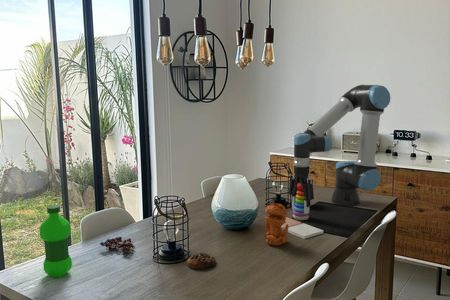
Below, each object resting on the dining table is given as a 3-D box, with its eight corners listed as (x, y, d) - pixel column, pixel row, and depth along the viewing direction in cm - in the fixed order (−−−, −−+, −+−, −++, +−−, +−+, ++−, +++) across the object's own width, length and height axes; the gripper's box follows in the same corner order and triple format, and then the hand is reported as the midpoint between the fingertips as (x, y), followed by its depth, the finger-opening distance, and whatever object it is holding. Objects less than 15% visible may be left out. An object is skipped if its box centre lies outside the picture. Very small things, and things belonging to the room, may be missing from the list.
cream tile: (303, 225, 203) (303, 223, 203) (323, 233, 193) (323, 230, 193) (285, 231, 196) (285, 228, 196) (304, 238, 186) (304, 236, 186)
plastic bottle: (79, 269, 159) (74, 203, 155) (62, 282, 148) (57, 212, 144) (55, 266, 161) (49, 201, 157) (36, 279, 151) (30, 210, 147)
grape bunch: (94, 251, 172) (95, 240, 172) (112, 241, 186) (113, 231, 185) (127, 260, 168) (129, 249, 168) (143, 249, 182) (145, 238, 182)
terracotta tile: (283, 218, 214) (283, 216, 214) (301, 224, 204) (301, 222, 204) (265, 223, 207) (265, 220, 207) (282, 230, 197) (282, 227, 197)
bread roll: (206, 272, 155) (204, 258, 155) (181, 270, 160) (179, 257, 160) (222, 262, 164) (220, 249, 164) (197, 260, 170) (196, 248, 170)
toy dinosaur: (256, 243, 182) (257, 201, 179) (272, 236, 190) (272, 196, 187) (278, 250, 174) (279, 207, 172) (293, 242, 182) (294, 201, 179)
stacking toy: (304, 221, 209) (305, 183, 206) (289, 218, 213) (290, 181, 210) (311, 217, 215) (312, 180, 212) (297, 214, 220) (297, 178, 217)
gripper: (281, 163, 216) (280, 207, 220) (311, 170, 200) (310, 217, 203) (292, 161, 220) (291, 204, 224) (322, 167, 204) (321, 214, 208)
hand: (300, 210), depth 214 cm, fingers closed on stacking toy, 7 cm apart
